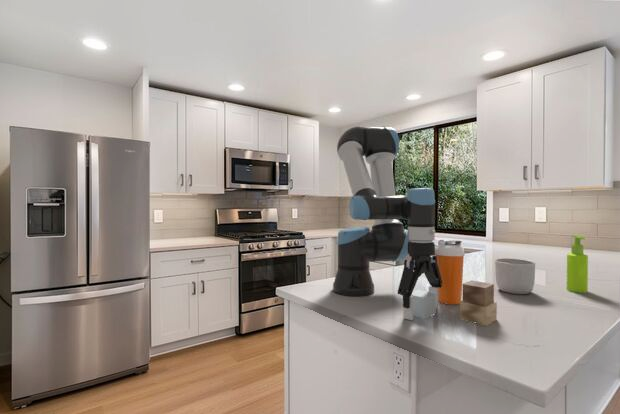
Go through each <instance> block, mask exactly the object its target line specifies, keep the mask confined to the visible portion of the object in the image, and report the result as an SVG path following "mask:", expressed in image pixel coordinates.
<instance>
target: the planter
mask: <svg viewBox="0 0 620 414" xmlns="http://www.w3.org/2000/svg"><path fill="white" fill-rule="evenodd" d="M494 267H495V268H494V269H495V273H494V274H495V281H496V286H497V288H498V289H499V290H501V291H502V292H504V293H509V294H514V295H526V294H527V295H528V294H530V293H532V292H533V289H534V286H535V277H536V263H535V262H534V261H532V260H527V259H520V258H509V257H508V258H507V257H506V258H505V257H504V258H496V259H495V260H494Z"/></svg>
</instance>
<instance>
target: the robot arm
mask: <svg viewBox="0 0 620 414" xmlns="http://www.w3.org/2000/svg"><path fill="white" fill-rule="evenodd" d="M399 150H400V137H399V135H398V132H397V131H396V130H395V128H392V127H388V126H387V127H386V126H354V127H350V128H348V129H347V130H346V131H344V132H343V133H342V135H341V136H340V138H339V139H338V142H337V145H336V152H337V156H338V157H339V159H340V160H341V161H342V162H343V167H344V169H345V174H346V177H347V180H348V183H349V187H350V189H351V194H352V196H351V197H350V199H349V203H348V204H349V205H348V208H349V215H350V217H351V219H353V220H357V221H358V220H359V221H367V220H369V221H370V220H374V221H375V222H374V223H373V224H372V225H371V230H370V227H369V226H364V225H363V226H355V227H348V228H343V229H340V230H339V231H338V233H337V242H336V245H337V271H336V274H335V276H334V277H335V278H334V281H333V283H332V290H333V292H334V293H335V294H339V295H342V296H349V297H362V296H363V297H364V296H369V295H371V294H374V292H375V284H374V281H373V279H372V278H373V277H372V274H371V270H370V263H371V262H372V263H375V262H377V263H378V262H392V263H394V262H400V261H403V262H404V263H403V270H402V274H401V278H400V281H399V285H398V288H397V294H398V295H400V296H402V318H403V319H406V320H409V321H414V316H413V296H411V295H412V292H413V291H415V287H416V284H417V282H418V280H419V277H421V276H422V274H424V276H425V278H426V280H427V282H428V283H429V285H430V286H428V292H429V293H433V294H436V309H437V310H439V301H438V287H440V288H441V287H442V278H441V275H440V271H439V267H438V264H437V256H436V254H435V248H436V243H435V240H436V239H435V237H436V236H435V234H436V230H435V228H436V227H435V223H436V218H435V217H436V199H435V190H434V189H433V188H431V187H423V188H422V187H420V188H419V187H417V188H416V187H415V188H409V189H408V190H407V195H405V194H404V195H396V188H395V179H394V169H393V163H392V162H394V160H395V159H396V156H397V155H398V154H399ZM364 158H365V159H364ZM366 163H367V164H368V165H369V168H370V169H369V170H370V172H369V170H368V167H367V165H366ZM400 220H407V229H406V228H404V224H403V222H401V221H400ZM409 255H410V256H411V259H406V258H408V256H409Z"/></svg>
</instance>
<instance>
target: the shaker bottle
mask: <svg viewBox="0 0 620 414" xmlns="http://www.w3.org/2000/svg"><path fill="white" fill-rule="evenodd" d="M462 243H463V241H462V240H447V241H446V240H445V241H444V239H440V240H438V242H437V244H438V245H437V246H435V254H434V255H435V256H437V264H438V267H439V271H440V275H441V278H442V287H441V288H440V287H438V300H439V301H440V302H439V301H438V302H439V303H441V302H443V303H447V304H446V305H449V304H458V305H460V301H462V299H463V277H464V275H463V273H464V260H465V259H464V257H465V249H464V247H463V246H462V245H461V244H462ZM443 303H442V304H443Z"/></svg>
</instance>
